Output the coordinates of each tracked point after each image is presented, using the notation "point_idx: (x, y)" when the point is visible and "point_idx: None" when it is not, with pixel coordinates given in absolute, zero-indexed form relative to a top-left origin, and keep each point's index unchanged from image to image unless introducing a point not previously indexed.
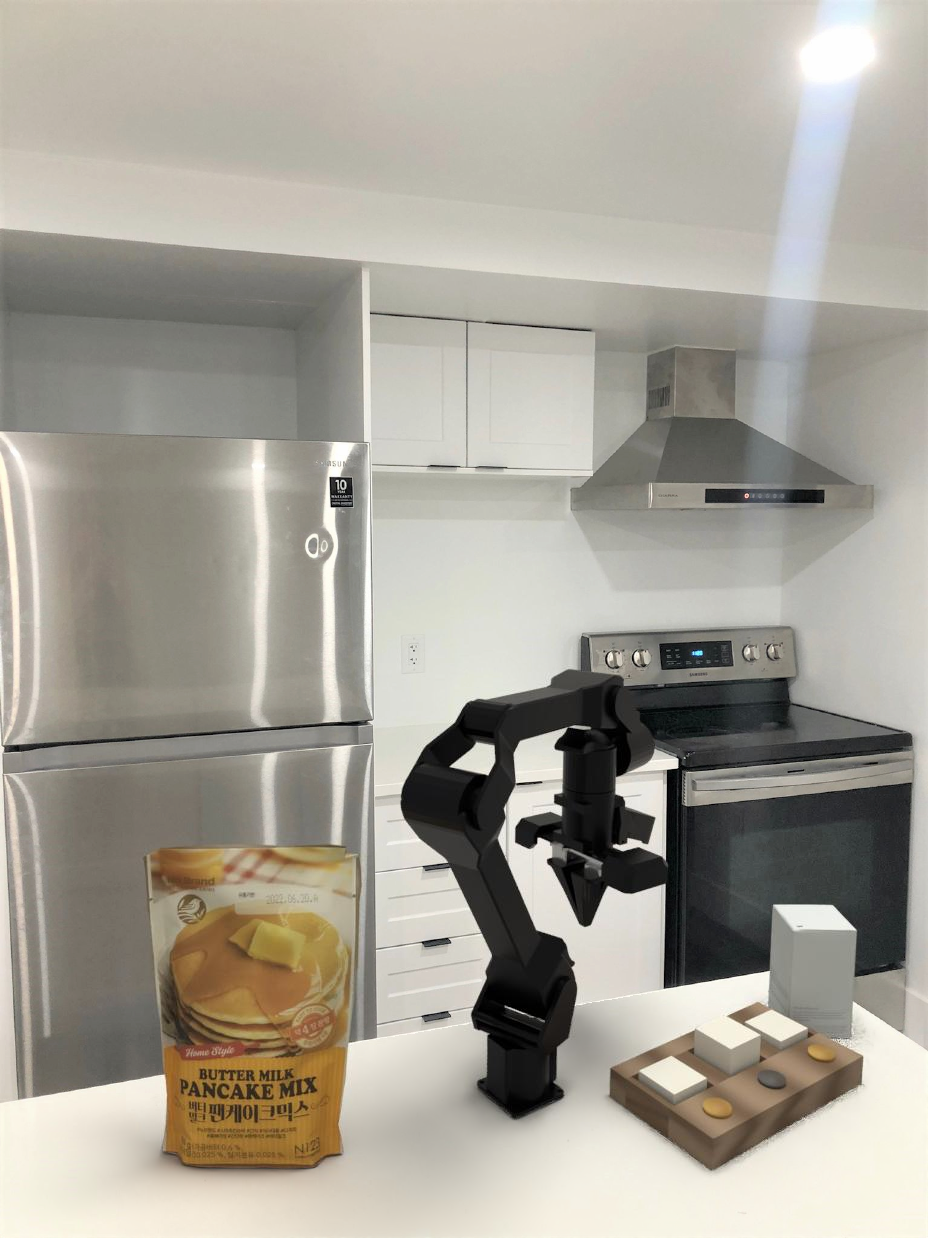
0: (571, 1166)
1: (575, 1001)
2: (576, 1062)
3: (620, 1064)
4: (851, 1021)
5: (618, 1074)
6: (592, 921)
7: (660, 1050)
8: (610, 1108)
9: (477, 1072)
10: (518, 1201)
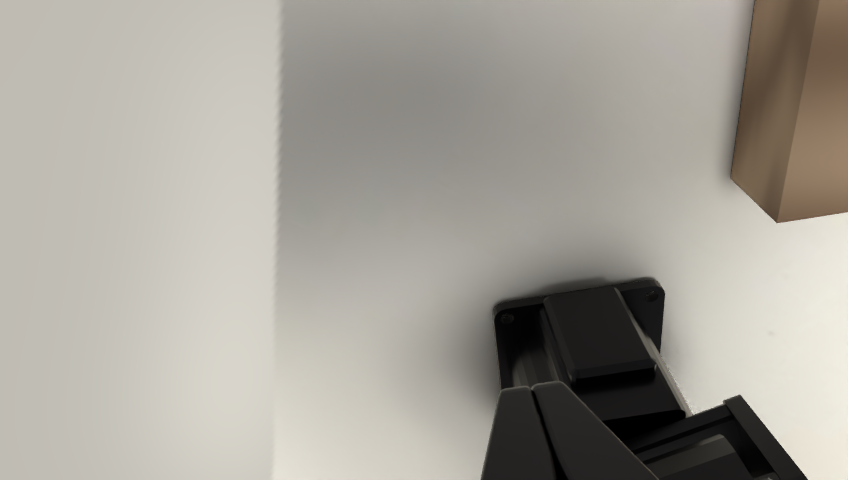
0: (829, 359)
1: (793, 462)
2: (548, 174)
3: (788, 186)
4: None
5: (814, 216)
6: (579, 400)
7: (845, 4)
8: None
9: (453, 394)
10: (816, 455)
